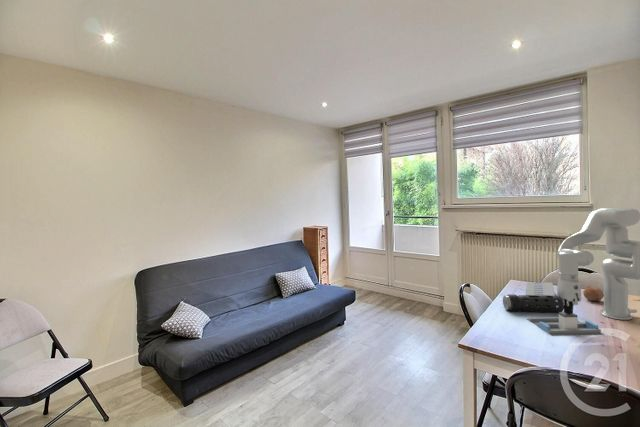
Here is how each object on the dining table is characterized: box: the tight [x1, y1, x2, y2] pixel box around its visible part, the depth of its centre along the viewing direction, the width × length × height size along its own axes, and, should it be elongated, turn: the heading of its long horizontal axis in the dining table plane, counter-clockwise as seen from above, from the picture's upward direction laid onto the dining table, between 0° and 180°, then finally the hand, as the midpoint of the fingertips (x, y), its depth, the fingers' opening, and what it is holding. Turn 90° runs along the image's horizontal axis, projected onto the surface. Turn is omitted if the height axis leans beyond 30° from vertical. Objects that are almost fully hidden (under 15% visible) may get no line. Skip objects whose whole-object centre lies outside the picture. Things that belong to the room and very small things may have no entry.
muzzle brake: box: [502, 294, 564, 313], centre depth 175 cm, size 10×28×10 cm, turn 78°
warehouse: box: [525, 282, 555, 296], centre depth 198 cm, size 30×14×8 cm, turn 144°
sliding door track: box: [526, 316, 605, 337], centre depth 154 cm, size 24×20×4 cm
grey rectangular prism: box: [558, 311, 578, 329], centre depth 151 cm, size 6×4×8 cm, turn 87°
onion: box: [582, 285, 604, 303], centre depth 189 cm, size 10×9×10 cm
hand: (568, 312), depth 150 cm, fingers closed
